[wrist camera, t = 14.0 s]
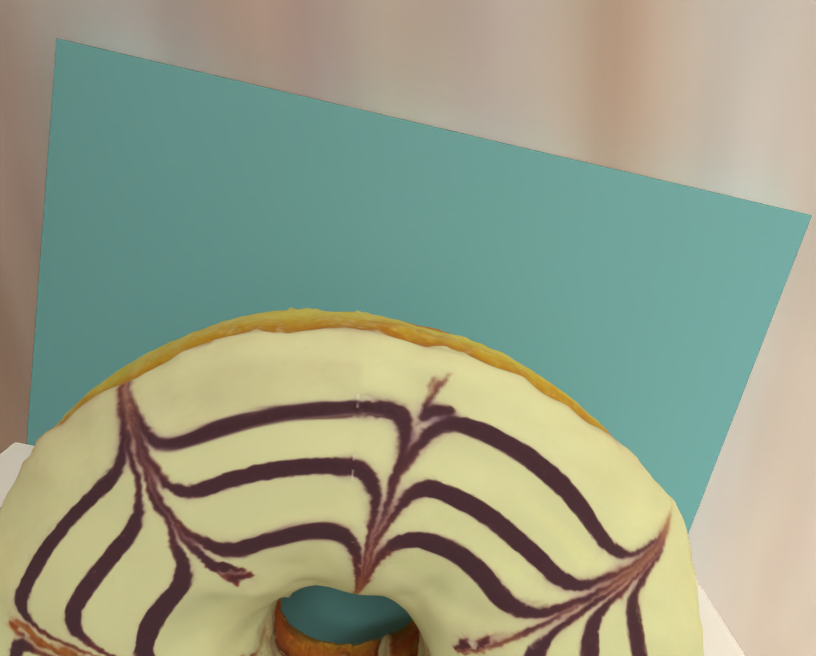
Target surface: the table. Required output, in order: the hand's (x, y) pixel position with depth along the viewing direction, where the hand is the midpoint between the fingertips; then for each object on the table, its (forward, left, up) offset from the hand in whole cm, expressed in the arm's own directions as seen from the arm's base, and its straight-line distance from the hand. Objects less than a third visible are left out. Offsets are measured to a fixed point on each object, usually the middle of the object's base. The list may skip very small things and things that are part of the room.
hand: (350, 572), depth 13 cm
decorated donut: (0, 0, -1) cm, 1 cm away
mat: (0, 0, -2) cm, 2 cm away
